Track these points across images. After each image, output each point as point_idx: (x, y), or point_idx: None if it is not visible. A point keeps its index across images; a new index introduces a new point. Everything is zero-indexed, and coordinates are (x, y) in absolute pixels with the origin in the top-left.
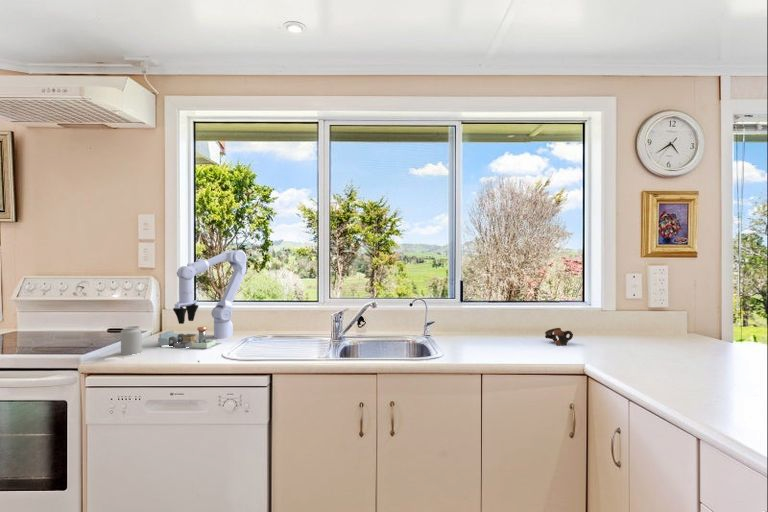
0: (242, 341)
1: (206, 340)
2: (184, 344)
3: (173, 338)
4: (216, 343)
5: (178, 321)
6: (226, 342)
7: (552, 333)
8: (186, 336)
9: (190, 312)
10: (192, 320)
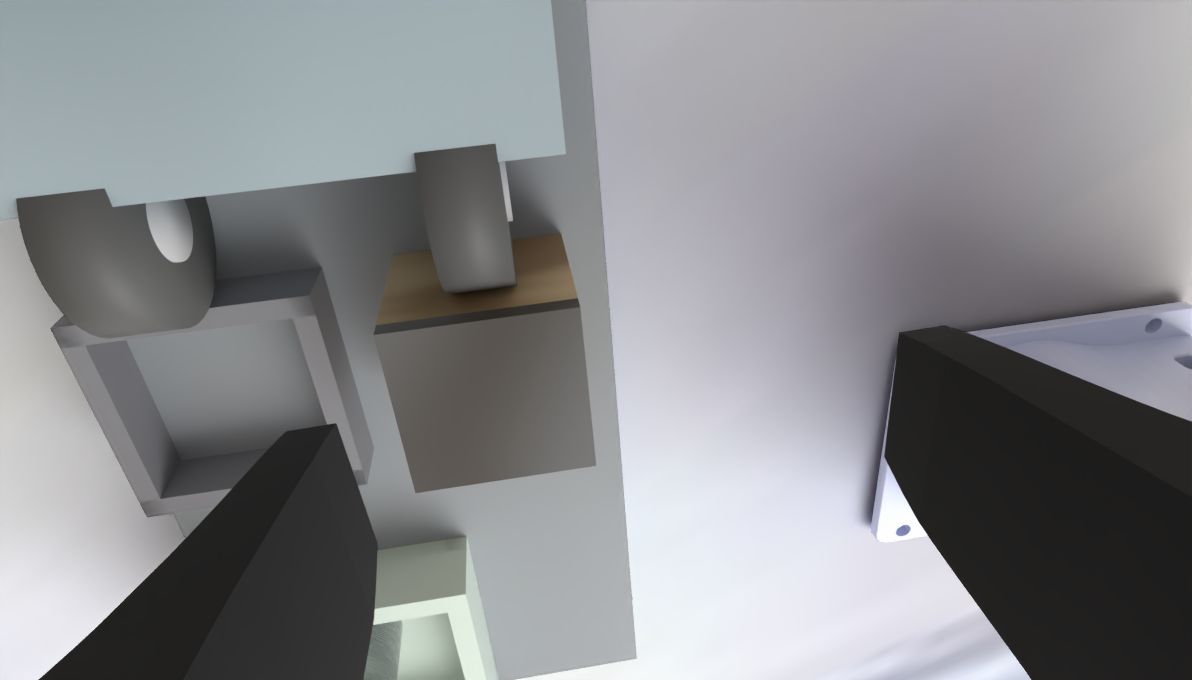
0: (876, 669)
1: (460, 656)
2: (162, 505)
3: (79, 318)
4: (596, 628)
5: (241, 484)
6: (812, 570)
7: None
8: (396, 405)
9: (1124, 634)
10: (893, 460)
